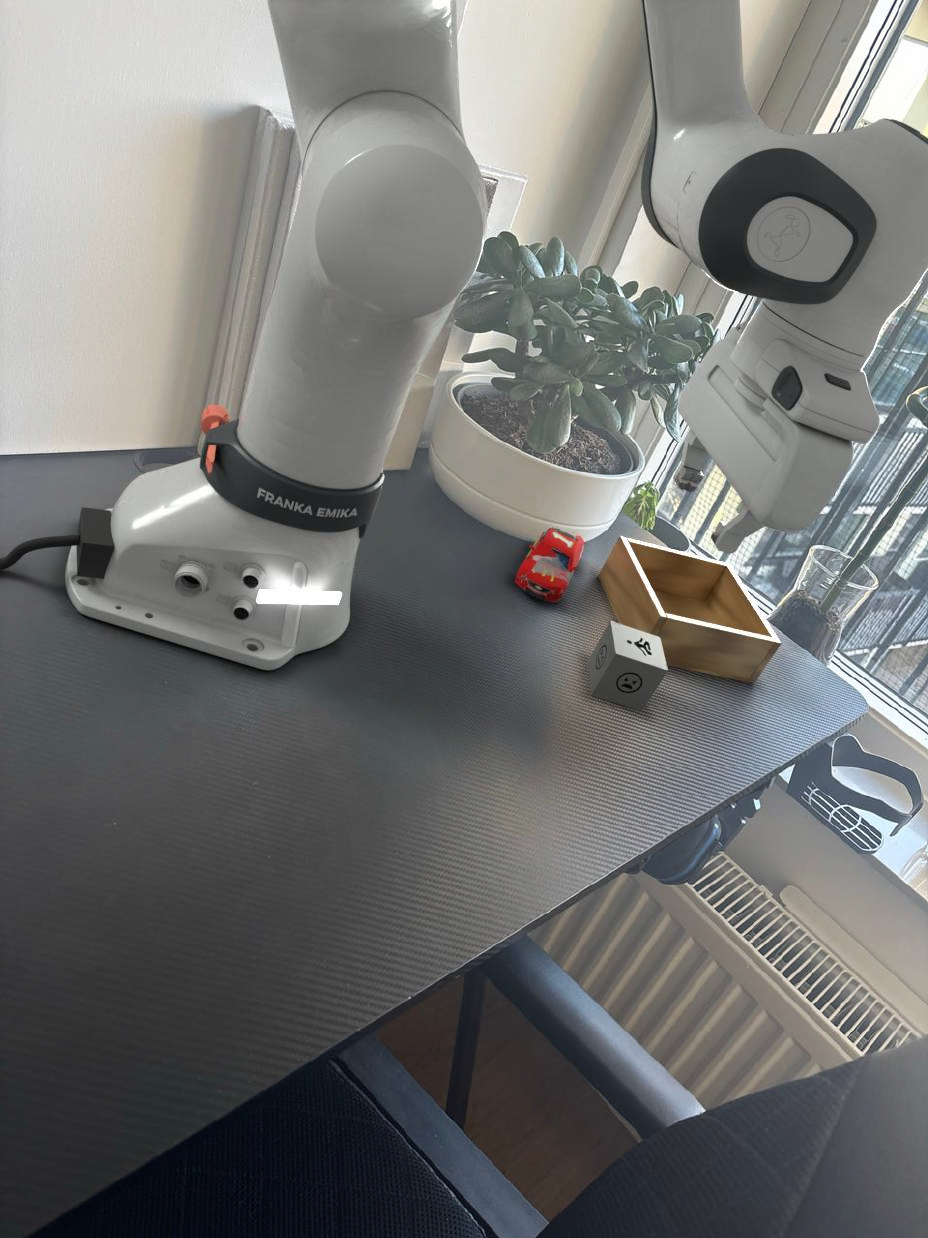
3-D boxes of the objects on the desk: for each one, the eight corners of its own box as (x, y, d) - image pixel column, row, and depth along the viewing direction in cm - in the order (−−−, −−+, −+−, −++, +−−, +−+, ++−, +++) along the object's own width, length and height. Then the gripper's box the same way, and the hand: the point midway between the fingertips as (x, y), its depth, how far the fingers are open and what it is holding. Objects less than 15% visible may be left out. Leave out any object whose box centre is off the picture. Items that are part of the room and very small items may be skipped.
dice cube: (642, 711, 85) (668, 670, 83) (591, 695, 84) (615, 653, 82) (635, 677, 89) (660, 637, 87) (587, 661, 88) (610, 620, 86)
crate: (634, 659, 92) (660, 616, 89) (597, 576, 103) (619, 535, 100) (754, 683, 96) (782, 643, 94) (706, 601, 107) (730, 563, 104)
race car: (554, 615, 93) (570, 583, 91) (505, 589, 94) (520, 557, 91) (582, 561, 104) (597, 531, 102) (538, 538, 105) (553, 508, 102)
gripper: (710, 300, 78) (632, 445, 85) (818, 410, 62) (711, 577, 69) (772, 325, 80) (691, 464, 87) (893, 437, 64) (780, 596, 71)
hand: (700, 515), depth 78 cm, fingers open, 8 cm apart
